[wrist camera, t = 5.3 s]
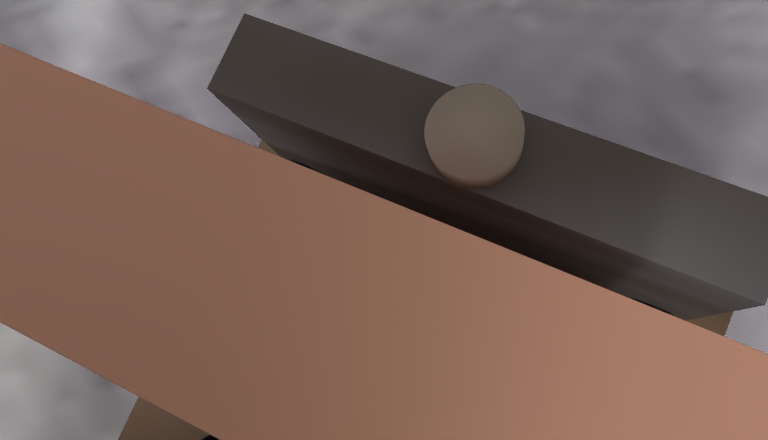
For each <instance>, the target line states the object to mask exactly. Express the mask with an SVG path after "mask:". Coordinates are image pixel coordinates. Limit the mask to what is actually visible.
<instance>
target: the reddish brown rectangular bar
mask: <svg viewBox="0 0 768 440" xmlns="http://www.w3.org/2000/svg"><path fill="white" fill-rule="evenodd" d="M0 322H1V323H3V324H5V325H6V326H8V327H10V328H12V329H14V330H16V331H18V332H20V333H21V334H23V335H25V336H27V337H29V338H31V339H33V340H35V341H36V342H38V343H40V344H42V345H44V346H46V347H48V348H49V349H51V350H53V351H55V352H57V353H59V354H61V355H63V356H64V357H66V358H68V359H70V360H72V361H74V362H76V363H78V364H79V365H81V366H83V367H85V368H87V369H89V370H91V371H93V372H94V373H96V374H98V375H100V376H102V377H104V378H106V379H107V380H109V381H111V382H113V383H115V384H117V385H119V386H121V387H122V388H124V389H126V390H128V391H130V392H132V393H134V394H136V395H137V396H139V397H141V398H143V399H145V400H147V401H149V402H150V403H152V404H154V405H156V406H158V407H160V408H162V409H164V410H165V411H167V412H169V413H171V414H173V415H175V416H177V417H179V418H180V419H182V420H184V421H186V422H188V423H190V424H192V425H193V426H195V427H197V428H199V429H201V430H203V431H205V432H207V433H208V434H210V435H212V436H214V437H216V438H218V439H220V440H768V354H766V353H763V352H761V351H759V350H756V349H754V348H751V347H749V346H746V345H744V344H741V343H739V342H736V341H734V340H731V339H729V338H726V337H724V336H721V335H719V334H716V333H714V332H712V331H709V330H707V329H704V328H702V327H699V326H697V325H694V324H692V323H689V322H687V321H684V320H682V319H679V318H677V317H674V316H672V315H670V314H667V313H665V312H662V311H660V310H657V309H655V308H652V307H650V306H647V305H645V304H642V303H640V302H637V301H635V300H632V299H630V298H628V297H625V296H623V295H620V294H618V293H615V292H613V291H610V290H608V289H605V288H603V287H600V286H598V285H595V284H593V283H590V282H588V281H586V280H583V279H581V278H578V277H576V276H573V275H571V274H568V273H566V272H563V271H561V270H558V269H556V268H553V267H551V266H548V265H546V264H544V263H541V262H539V261H536V260H534V259H531V258H529V257H526V256H524V255H521V254H519V253H516V252H514V251H511V250H509V249H506V248H504V247H502V246H499V245H497V244H494V243H492V242H489V241H487V240H484V239H482V238H479V237H477V236H474V235H472V234H469V233H467V232H464V231H462V230H460V229H457V228H455V227H452V226H450V225H447V224H445V223H442V222H440V221H437V220H435V219H432V218H430V217H427V216H425V215H422V214H420V213H418V212H415V211H413V210H410V209H408V208H405V207H403V206H400V205H398V204H395V203H393V202H390V201H388V200H385V199H383V198H380V197H378V196H376V195H373V194H371V193H368V192H366V191H363V190H361V189H358V188H356V187H353V186H351V185H348V184H346V183H343V182H341V181H338V180H336V179H334V178H331V177H329V176H326V175H324V174H321V173H319V172H316V171H314V170H311V169H309V168H306V167H304V166H301V165H299V164H296V163H294V162H292V161H289V160H287V159H284V158H282V157H279V156H277V155H274V154H272V153H269V152H267V151H264V150H262V149H259V148H257V147H254V146H252V145H250V144H247V143H245V142H242V141H240V140H237V139H235V138H232V137H230V136H227V135H225V134H222V133H220V132H217V131H215V130H212V129H210V128H208V127H205V126H203V125H200V124H198V123H195V122H193V121H190V120H188V119H185V118H183V117H180V116H178V115H175V114H173V113H170V112H168V111H165V110H163V109H161V108H158V107H156V106H153V105H151V104H148V103H146V102H143V101H141V100H138V99H136V98H133V97H131V96H128V95H126V94H123V93H121V92H119V91H116V90H114V89H111V88H109V87H106V86H104V85H101V84H99V83H96V82H94V81H91V80H89V79H86V78H84V77H81V76H79V75H77V74H74V73H72V72H69V71H67V70H64V69H62V68H59V67H57V66H54V65H52V64H49V63H47V62H44V61H42V60H39V59H37V58H35V57H32V56H30V55H27V54H25V53H22V52H20V51H17V50H15V49H12V48H10V47H7V46H5V45H2V44H0Z"/></svg>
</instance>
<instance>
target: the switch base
mask: <svg viewBox="0 0 768 440" xmlns="http://www.w3.org/2000/svg"><path fill="white" fill-rule="evenodd" d="M207 89H208V90H210V91H211V92H212V93H213V94H214V95H215V96H216V97H217V98H218V99H219V100H220V101H221V102H222V103H223V104H225V105H226V106H227V107H228V108H229V109H230V110H231V111H232V112H233V113H234V114H235V115H236V116H237V117H238V118H240V119H241V120H242V121H243V122H244V123H245V124H246V125H247V126H248V127H249V128H250V129H251V130H252V131H253V132H255V133H256V134H257V135H258V136H259V137H260V138H261V139H262V142H261V144H260V146H259V149H262V150H264V151H267V152H269V153H272V154H274V155H277V156H279V157H282V158H284V159H287V160H289V161H292V162H294V163H296V164H299V165H301V166H304V167H306V168H309V169H311V170H314V171H316V172H319V173H321V174H324V175H326V176H329V177H331V178H334V179H336V180H338V181H341V182H343V183H346V184H348V185H351V186H353V187H356V188H358V189H361V190H363V191H366V192H368V193H371V194H373V195H376V196H378V197H380V198H383V199H385V200H388V201H390V202H393V203H395V204H398V205H400V206H403V207H405V208H408V209H410V210H413V211H415V212H418V213H420V214H422V215H425V216H427V217H430V218H432V219H435V220H437V221H440V222H442V223H445V224H447V225H450V226H452V227H455V228H457V229H460V230H462V231H464V232H467V233H469V234H472V235H474V236H477V237H479V238H482V239H484V240H487V241H489V242H492V243H494V244H497V245H499V246H502V247H504V248H506V249H509V250H511V251H514V252H516V253H519V254H521V255H524V256H526V257H529V258H531V259H534V260H536V261H539V262H541V263H544V264H546V265H548V266H551V267H553V268H556V269H558V270H561V271H563V272H566V273H568V274H571V275H573V276H576V277H578V278H581V279H583V280H586V281H588V282H590V283H593V284H595V285H598V286H600V287H603V288H605V289H608V290H610V291H613V292H615V293H618V294H620V295H623V296H625V297H628V298H630V299H632V300H635V301H637V302H640V303H642V304H645V305H647V306H650V307H652V308H655V309H657V310H660V311H662V312H665V313H667V314H670V315H672V316H674V317H677V318H679V319H682V320H684V321H687V322H689V323H692V324H694V325H697V326H699V327H702V328H704V329H707V330H709V331H712V332H714V333H716V334H719V335H721V336H724V335H725V332H726V329H727V327H728V324H729V321H730V319H731V316H732V313H733V311H736V310H741V309H746V308H751V307H756V306H761V305H765V303H766V301H767V298H768V197H766V196H763V195H761V194H758V193H755V192H752V191H749V190H746V189H743V188H741V187H738V186H735V185H732V184H729V183H726V182H723V181H721V180H718V179H715V178H712V177H709V176H706V175H704V174H701V173H698V172H695V171H692V170H689V169H686V168H684V167H681V166H678V165H675V164H672V163H669V162H666V161H664V160H661V159H658V158H655V157H652V156H649V155H646V154H644V153H641V152H638V151H635V150H632V149H629V148H627V147H624V146H621V145H618V144H615V143H612V142H609V141H607V140H604V139H601V138H598V137H595V136H592V135H589V134H587V133H584V132H581V131H578V130H575V129H572V128H570V127H567V126H564V125H561V124H558V123H555V122H552V121H550V120H547V119H544V118H541V117H538V116H535V115H532V114H530V113H527V112H524V111H521V110H520V109H519V107H518V105H517V104H516V103H515V101H514V100H513V99H512V98H511V97H510V96H509V95H507V94H506V93H505V92H503V91H501V90H500V89H497V88H495V87H492V86H489V85H484V84H468V85H463V86H460V87H457V88H455V87H453V86H450V85H447V84H444V83H441V82H438V81H435V80H433V79H430V78H427V77H424V76H421V75H418V74H416V73H413V72H410V71H407V70H404V69H401V68H398V67H396V66H393V65H390V64H387V63H384V62H381V61H378V60H376V59H373V58H370V57H367V56H364V55H361V54H358V53H356V52H353V51H350V50H347V49H344V48H341V47H339V46H336V45H333V44H330V43H327V42H324V41H321V40H319V39H316V38H313V37H310V36H307V35H304V34H301V33H299V32H296V31H293V30H290V29H287V28H284V27H281V26H279V25H276V24H273V23H270V22H267V21H264V20H262V19H259V18H256V17H253V16H250V15H247V14H244V16H243V18H242V20H241V22H240V24H239V26H238V28H237V30H236V32H235V34H234V36H233V38H232V40H231V42H230V44H229V46H228V48H227V50H226V52H225V54H224V56H223V58H222V60H221V62H220V64H219V66H218V68H217V70H216V72H215V74H214V76H213V78H212V80H211V82H210V84H209V86H208V88H207ZM207 435H209V434H208V433H207V432H205V431H203V430H201V429H199V428H197V427H195V426H193V425H192V424H190V423H188V422H186V421H184V420H182V419H180V418H179V417H177V416H175V415H173V414H171V413H169V412H167V411H165V410H164V409H162V408H160V407H158V406H156V405H154V404H152V403H150V402H149V401H147V400H145V399H143V398H141V397H138V399H137V401H136V404H135V406H134V408H133V410H132V412H131V414H130V416H129V418H128V420H127V422H126V424H125V426H124V429H123V431H122V433H121V435H120V437H119V439H118V440H201V439H202V438H204V437H206V436H207Z"/></svg>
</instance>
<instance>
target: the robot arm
mask: <svg viewBox="0 0 768 440" xmlns="http://www.w3.org/2000/svg"><path fill="white" fill-rule="evenodd" d="M201 440H220V439H218V438H216V437H214V436H212V435H210V434H209V435H207V436H206V437H204V438H202V439H201Z"/></svg>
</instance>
